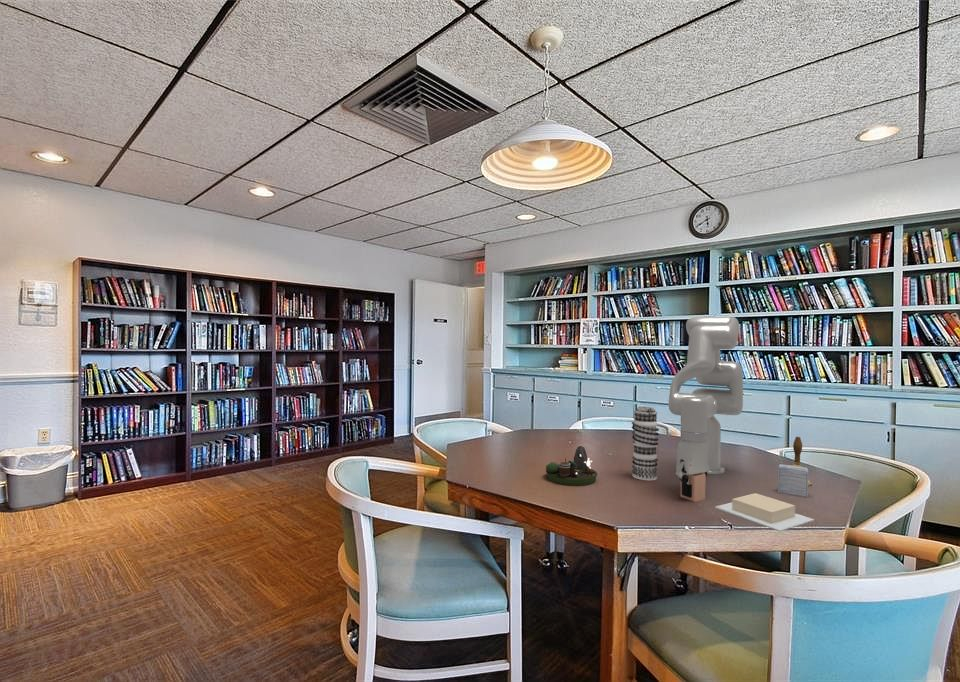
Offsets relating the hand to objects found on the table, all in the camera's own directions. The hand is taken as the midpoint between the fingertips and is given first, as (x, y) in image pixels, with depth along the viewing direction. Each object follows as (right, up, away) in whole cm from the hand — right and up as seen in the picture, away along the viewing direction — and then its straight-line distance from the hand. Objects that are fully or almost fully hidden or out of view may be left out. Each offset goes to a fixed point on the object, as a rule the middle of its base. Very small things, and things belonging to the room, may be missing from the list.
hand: (692, 494), depth 139 cm
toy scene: (-34, -1, +19) cm, 39 cm away
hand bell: (+45, -2, +18) cm, 48 cm away
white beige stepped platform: (+14, -2, -13) cm, 19 cm away
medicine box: (+35, -2, +6) cm, 36 cm away
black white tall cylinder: (-7, -1, +22) cm, 23 cm away
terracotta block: (0, -2, 0) cm, 2 cm away
